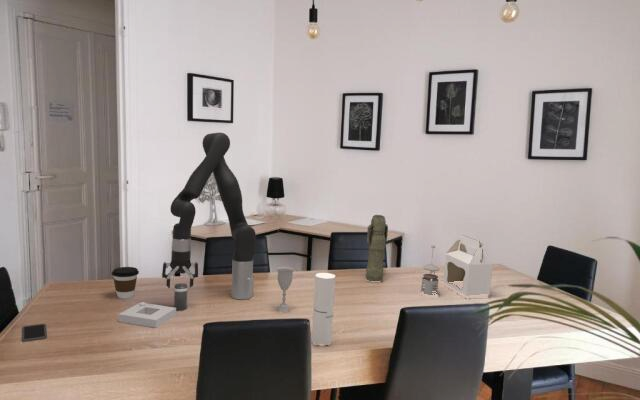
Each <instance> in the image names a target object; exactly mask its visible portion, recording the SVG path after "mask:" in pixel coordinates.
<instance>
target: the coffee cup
mask: <svg viewBox="0 0 640 400" xmlns="http://www.w3.org/2000/svg"><path fill="white" fill-rule="evenodd" d="M139 273H140V270H139V268H137V267H133V266H123V267H122V266H121V267H115V268H114V269H113V271H112V272H111V275H112V276H113V283H114V288H115V291H116V293H115V294H116V296H117V298H118V299H122V300H127V299H131V298H132V297H134V294H135V289H136V285H137V280H138V278H137V277H138V275H139Z"/></svg>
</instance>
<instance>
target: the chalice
mask: <svg viewBox="0 0 640 400" xmlns="http://www.w3.org/2000/svg"><path fill="white" fill-rule="evenodd" d="M276 269H277V283H278V285H279V287H280V290H282V294H281V295H282V297H281V300H282V303H281V304H279V306H278V308H277V311H278V312H281V313H287V312H289V311H290V309H289V305H288V304H287V303H286V300H287V298H286V295H287V294H286V291H288V290H289V288H290V286H291V284H292V281H293V272H294V270H295V269H294V268H293V267H292V266H291V267H290V266H278V267H277V268H276Z"/></svg>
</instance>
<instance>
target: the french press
mask: <svg viewBox="0 0 640 400" xmlns="http://www.w3.org/2000/svg"><path fill="white" fill-rule="evenodd" d="M430 247H431V248H432V249H436V246H435V245H431V246H430ZM431 252H432V254H431V258H433V257H434V256H433V255H434V251H431ZM440 268H441V267H439V266H437V265H435V264H433V262H431V263H430V264H429V263H428V264H426V265H424V266H422V269H424V270H425V271H430V273H424V274H423V275H422V277H421V286H420V288H421V289H420V292H422V291H423V292H424V294H428V295H433V294H432V293H436V292H437V293H436V294H438V289H439V279H438V278H439V276H438V275H436V274H435V272H438V271H440V270H441V269H440ZM432 273H433V274H432ZM432 291H436V292H432ZM434 295H435V294H434Z"/></svg>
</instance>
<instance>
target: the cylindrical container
mask: <svg viewBox="0 0 640 400" xmlns="http://www.w3.org/2000/svg"><path fill="white" fill-rule="evenodd" d="M314 278H315V279H314V293H313V294H314V295H313V296H314V297H313V311H312V312H313V313H312V327H311V328H312V329H311V343H312V342H313V343H315V344H323V345H325V344H329V343H331V344H332V340H333V339H332V335H333V334H332V333H333V323H334V321H333V319H334V306H335V305H334V304H335V289H336V275H335V274H334V273H330V272H318V273H316V274H315V277H314Z"/></svg>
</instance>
